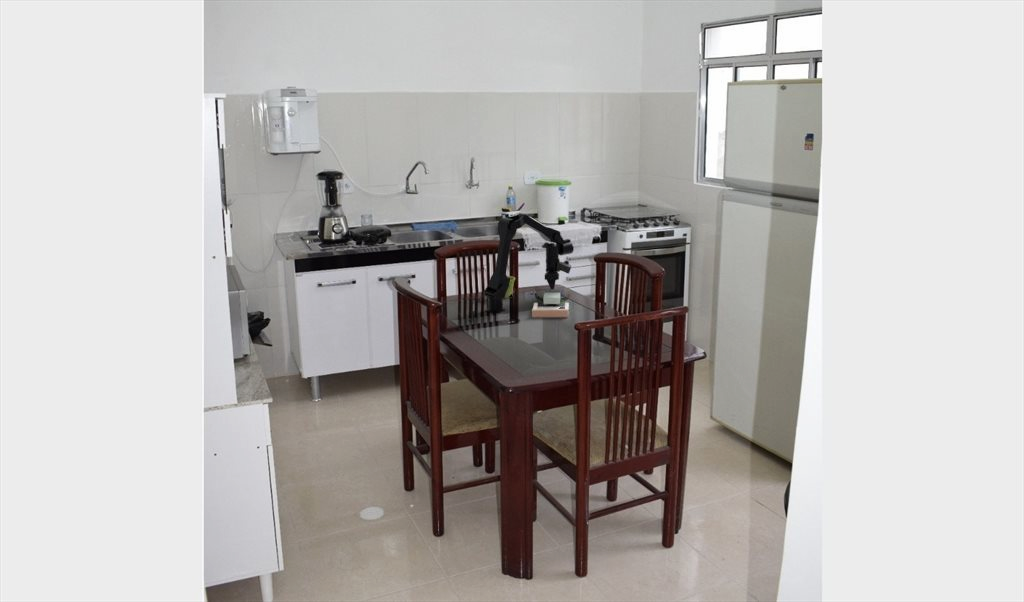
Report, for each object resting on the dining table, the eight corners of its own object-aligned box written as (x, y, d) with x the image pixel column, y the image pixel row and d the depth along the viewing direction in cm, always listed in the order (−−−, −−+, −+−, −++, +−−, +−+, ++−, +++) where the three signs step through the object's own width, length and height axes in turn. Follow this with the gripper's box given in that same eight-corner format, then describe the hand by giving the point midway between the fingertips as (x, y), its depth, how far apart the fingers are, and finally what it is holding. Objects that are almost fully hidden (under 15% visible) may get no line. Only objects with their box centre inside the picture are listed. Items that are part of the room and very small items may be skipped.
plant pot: (515, 299, 357) (515, 280, 354) (494, 299, 357) (494, 281, 355) (515, 293, 366) (515, 275, 363) (495, 294, 366) (494, 276, 364)
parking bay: (534, 307, 343) (534, 300, 342) (568, 307, 341) (568, 300, 341) (532, 317, 328) (531, 310, 327) (568, 317, 327) (567, 310, 326)
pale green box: (544, 300, 353) (544, 289, 352) (560, 300, 352) (560, 289, 351) (543, 306, 343) (543, 295, 342) (559, 306, 343) (559, 295, 341)
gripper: (569, 261, 342) (570, 295, 346) (570, 252, 360) (570, 285, 364) (544, 261, 343) (544, 295, 347) (546, 252, 361) (546, 285, 365)
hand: (552, 290), depth 356 cm, fingers closed
